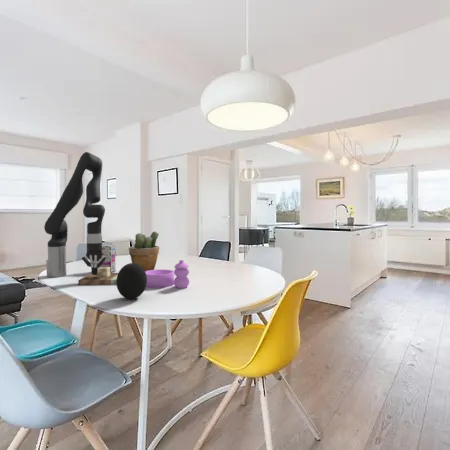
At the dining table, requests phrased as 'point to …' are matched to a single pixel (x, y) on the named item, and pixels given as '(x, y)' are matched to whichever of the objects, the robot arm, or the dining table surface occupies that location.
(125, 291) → the decorative egg
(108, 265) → the candy bar box
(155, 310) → the dining table surface
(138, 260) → the potted plant
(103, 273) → the block
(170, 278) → the container set
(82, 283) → the board
